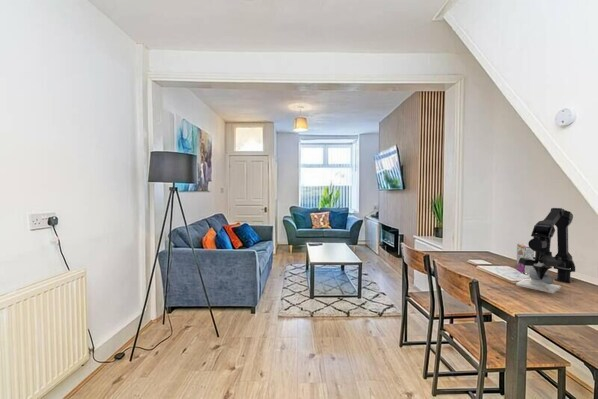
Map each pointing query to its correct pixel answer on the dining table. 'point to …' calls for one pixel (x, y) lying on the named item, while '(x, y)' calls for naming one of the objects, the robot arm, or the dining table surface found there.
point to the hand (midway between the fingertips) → (540, 279)
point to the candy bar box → (524, 252)
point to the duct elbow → (545, 278)
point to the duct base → (551, 287)
